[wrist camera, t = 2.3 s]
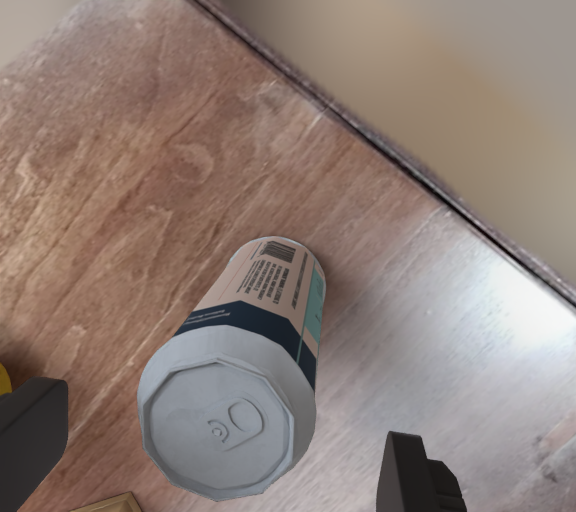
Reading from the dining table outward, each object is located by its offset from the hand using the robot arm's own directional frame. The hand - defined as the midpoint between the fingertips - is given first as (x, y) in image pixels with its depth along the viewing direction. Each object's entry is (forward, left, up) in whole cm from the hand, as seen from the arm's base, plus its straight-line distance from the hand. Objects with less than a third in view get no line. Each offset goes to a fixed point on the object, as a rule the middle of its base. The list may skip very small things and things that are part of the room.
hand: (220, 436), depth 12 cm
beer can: (0, 0, -12) cm, 12 cm away
